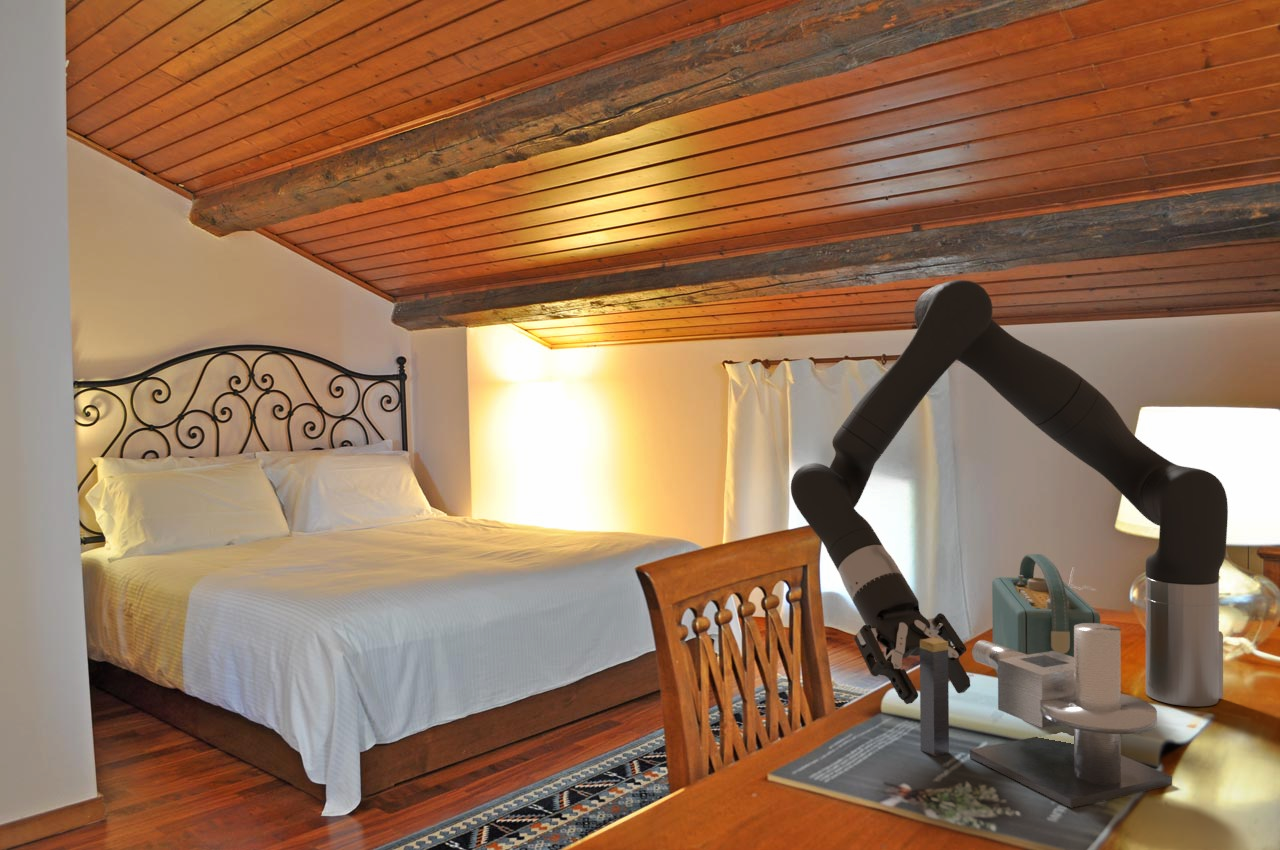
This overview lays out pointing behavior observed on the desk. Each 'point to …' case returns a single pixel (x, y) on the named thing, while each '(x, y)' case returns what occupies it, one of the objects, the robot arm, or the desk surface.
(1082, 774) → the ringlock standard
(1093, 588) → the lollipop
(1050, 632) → the radio
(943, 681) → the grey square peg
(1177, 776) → the desk surface
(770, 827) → the desk surface
